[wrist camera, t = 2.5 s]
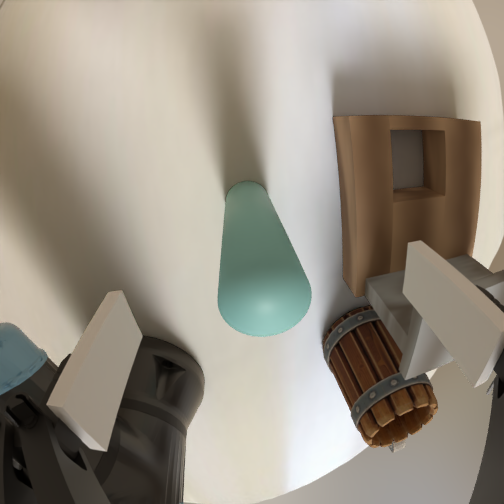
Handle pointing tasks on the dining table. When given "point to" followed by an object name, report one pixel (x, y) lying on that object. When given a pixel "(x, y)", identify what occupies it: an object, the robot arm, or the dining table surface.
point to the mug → (376, 380)
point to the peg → (259, 267)
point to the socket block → (409, 220)
